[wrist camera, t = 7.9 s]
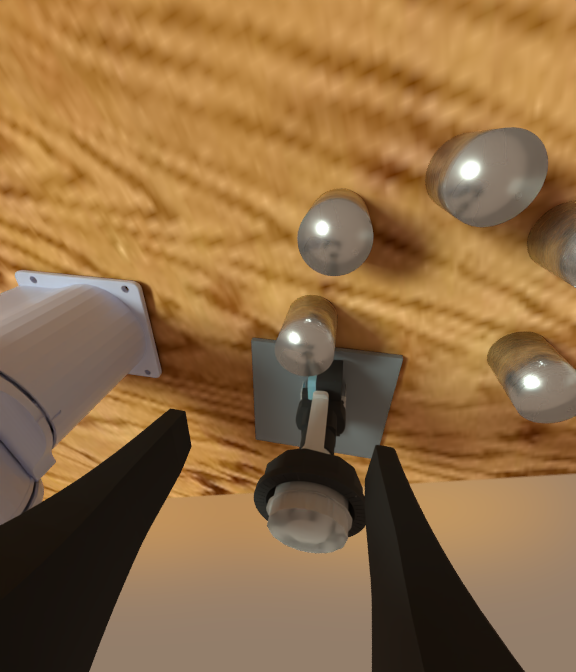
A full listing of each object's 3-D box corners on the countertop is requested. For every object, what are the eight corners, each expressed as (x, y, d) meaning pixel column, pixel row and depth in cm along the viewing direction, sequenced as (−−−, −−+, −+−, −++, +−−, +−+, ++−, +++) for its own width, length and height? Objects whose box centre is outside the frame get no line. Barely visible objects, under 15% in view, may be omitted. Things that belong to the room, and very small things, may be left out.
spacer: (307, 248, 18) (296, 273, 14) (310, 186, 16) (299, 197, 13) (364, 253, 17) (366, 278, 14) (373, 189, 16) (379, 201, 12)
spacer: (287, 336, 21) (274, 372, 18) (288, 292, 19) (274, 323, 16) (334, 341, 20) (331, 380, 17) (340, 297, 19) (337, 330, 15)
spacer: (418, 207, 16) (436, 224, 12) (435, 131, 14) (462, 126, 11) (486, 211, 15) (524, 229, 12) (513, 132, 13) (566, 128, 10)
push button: (359, 428, 23) (363, 584, 15) (291, 421, 24) (257, 564, 16) (366, 355, 20) (374, 505, 12) (285, 351, 21) (239, 486, 13)
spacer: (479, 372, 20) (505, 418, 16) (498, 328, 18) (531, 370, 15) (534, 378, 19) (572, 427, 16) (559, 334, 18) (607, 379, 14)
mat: (257, 435, 27) (255, 439, 26) (252, 337, 21) (251, 340, 21) (375, 455, 25) (375, 459, 25) (402, 355, 20) (403, 358, 20)
